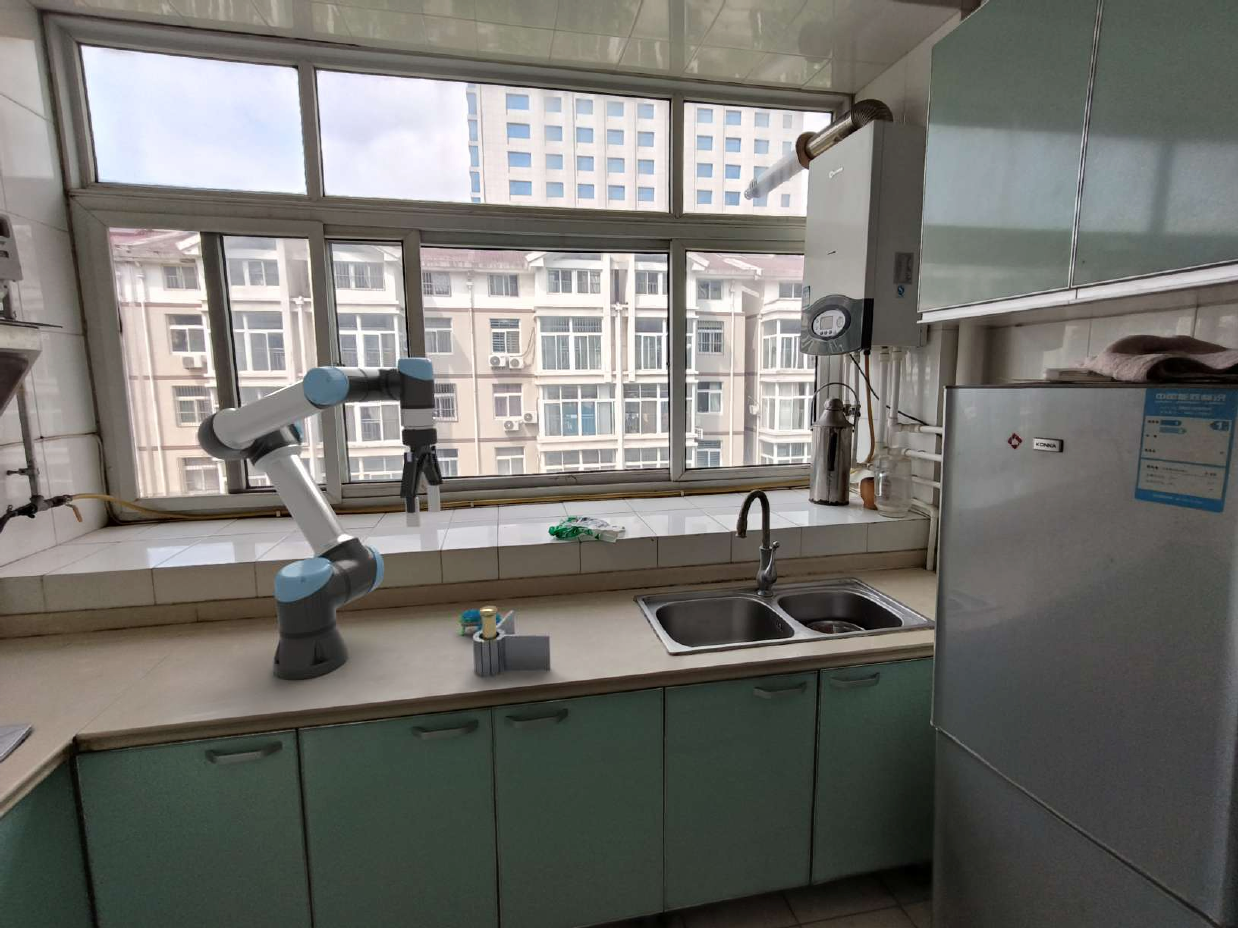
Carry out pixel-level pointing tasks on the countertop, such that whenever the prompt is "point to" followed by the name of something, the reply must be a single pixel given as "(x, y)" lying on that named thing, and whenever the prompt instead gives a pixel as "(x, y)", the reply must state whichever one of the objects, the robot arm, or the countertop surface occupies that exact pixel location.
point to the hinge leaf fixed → (510, 653)
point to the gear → (473, 620)
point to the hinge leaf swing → (507, 623)
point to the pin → (488, 622)
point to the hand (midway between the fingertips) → (424, 518)
